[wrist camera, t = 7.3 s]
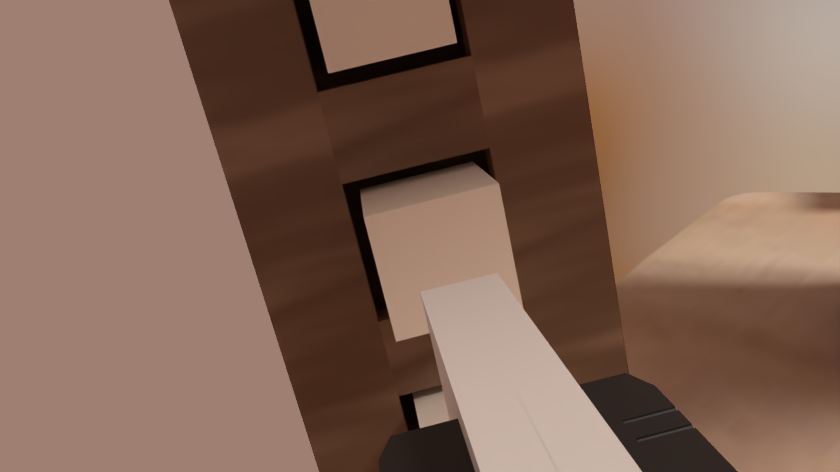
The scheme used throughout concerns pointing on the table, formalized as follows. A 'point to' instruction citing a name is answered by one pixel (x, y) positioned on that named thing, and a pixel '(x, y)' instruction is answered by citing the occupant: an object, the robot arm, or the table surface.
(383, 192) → the middle key
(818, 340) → the table surface
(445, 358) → the robot arm
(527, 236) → the switch panel
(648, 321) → the table surface
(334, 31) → the top key
